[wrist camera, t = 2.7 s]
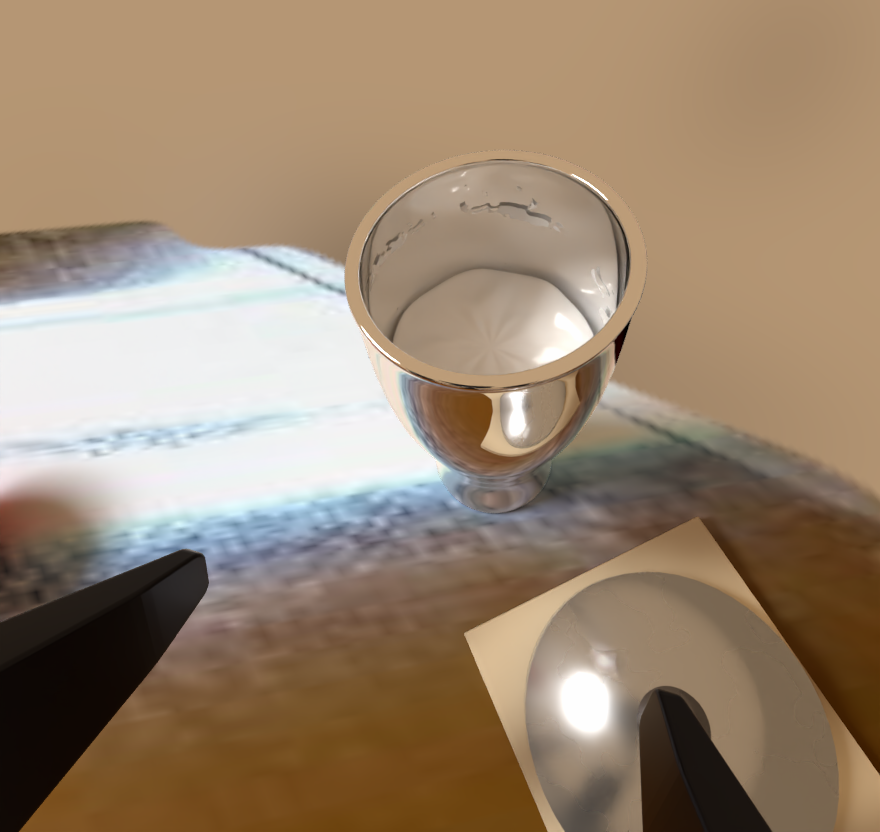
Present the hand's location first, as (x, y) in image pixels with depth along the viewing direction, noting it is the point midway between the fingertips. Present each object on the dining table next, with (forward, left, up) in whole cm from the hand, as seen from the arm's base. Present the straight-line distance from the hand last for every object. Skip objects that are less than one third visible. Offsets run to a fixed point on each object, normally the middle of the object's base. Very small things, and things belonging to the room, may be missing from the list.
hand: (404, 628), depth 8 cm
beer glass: (+6, -5, -13) cm, 16 cm away
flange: (-7, -6, -13) cm, 16 cm away
